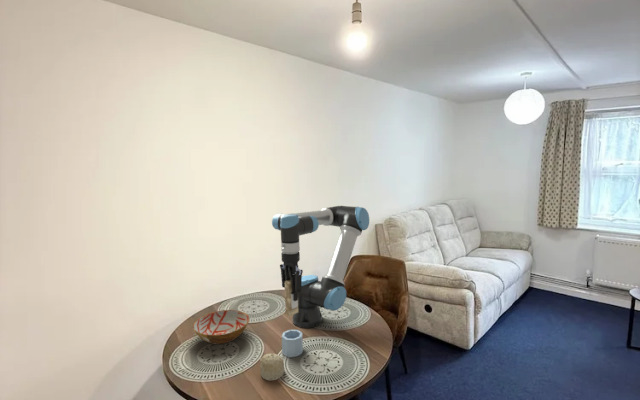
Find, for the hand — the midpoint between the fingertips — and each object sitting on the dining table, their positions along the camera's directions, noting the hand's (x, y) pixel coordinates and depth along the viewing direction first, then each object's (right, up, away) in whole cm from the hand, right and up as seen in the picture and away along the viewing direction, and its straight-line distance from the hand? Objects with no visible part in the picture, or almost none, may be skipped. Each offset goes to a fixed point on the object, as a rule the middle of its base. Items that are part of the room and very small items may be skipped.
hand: (291, 306), depth 138 cm
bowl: (-34, -20, +14) cm, 41 cm away
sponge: (-6, -22, -12) cm, 26 cm away
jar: (0, -20, +2) cm, 20 cm away
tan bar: (0, -3, 0) cm, 3 cm away
